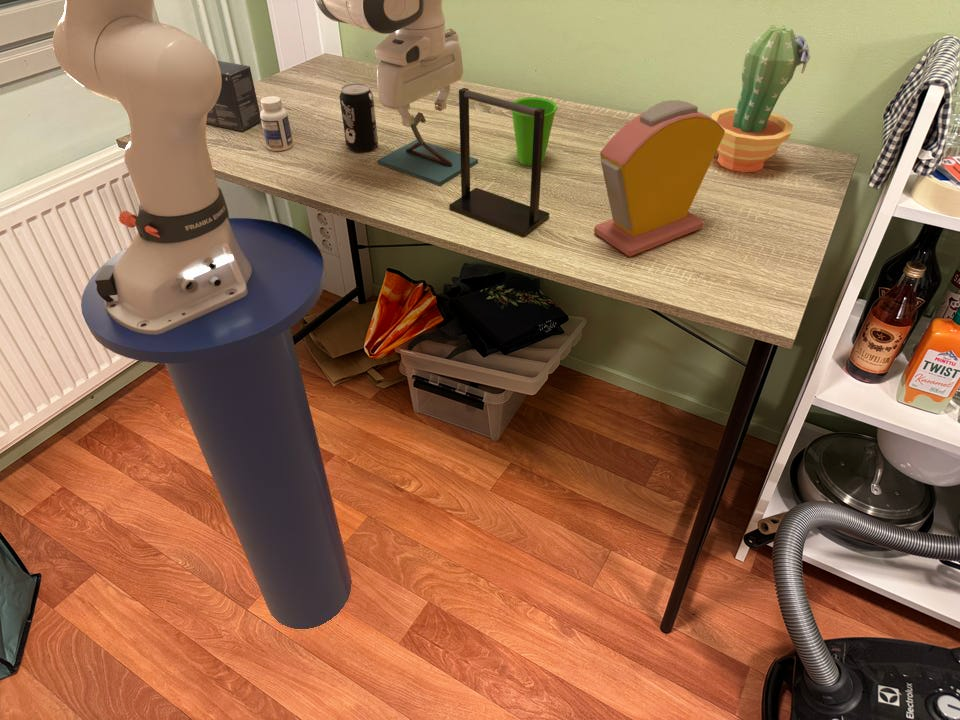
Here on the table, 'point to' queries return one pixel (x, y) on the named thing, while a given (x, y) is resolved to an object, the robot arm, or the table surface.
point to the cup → (532, 127)
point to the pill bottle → (275, 124)
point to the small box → (235, 99)
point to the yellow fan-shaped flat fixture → (656, 175)
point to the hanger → (424, 144)
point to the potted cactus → (760, 100)
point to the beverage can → (358, 117)
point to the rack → (491, 205)
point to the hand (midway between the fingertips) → (425, 117)
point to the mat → (425, 163)
